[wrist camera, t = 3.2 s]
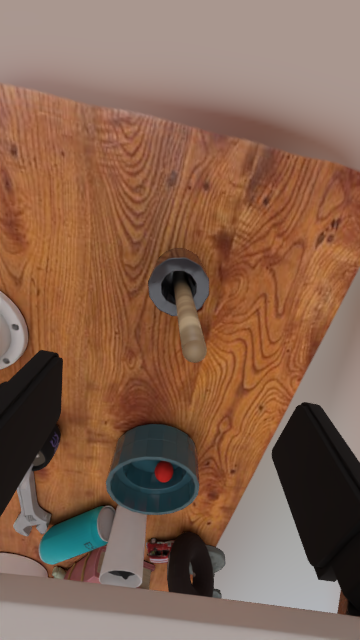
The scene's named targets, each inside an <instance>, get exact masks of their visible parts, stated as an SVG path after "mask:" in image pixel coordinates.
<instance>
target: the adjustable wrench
mask: <svg viewBox="0 0 360 640" xmlns="http://www.w3.org/2000/svg"><path fill="white" fill-rule="evenodd" d="M26 474H27V473H26ZM25 476H26V475H25ZM25 476H24V478H23V480H22V481H21V483H20V485H19V486H18V488H17V492H18V497H19V501H20V506H21V513H20V514H19V515H18V517H17V519H16V521H15V523H14V529H15V530H16V531H17V532H18V533H20V534H22V535H24V536H29V534H30V532H31V529H32V527H31V526H33V525H37V526H36V528H37V530H38V531H39V532H40V533H41V534H44V533H45V532H46V530H47V527H48V525H49V523H50V517H51V514H49V513H47V512H45V511H44V510H43V509H42V508H40V506H39V505H38V503H37V496H36V488H35V480H34V472H33V471H31V474H30V477H29V480H28V484H27V487H26V489H21V486H22V484H23V481H24V479H25Z"/></svg>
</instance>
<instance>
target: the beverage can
mask: <svg viewBox="0 0 360 640" xmlns="http://www.w3.org/2000/svg"><path fill="white" fill-rule="evenodd" d="M115 512H116V511H115V509H114V508H113V507H112V506H100V507H97V508H95V509H92V510H90V511H88V512H85V513H83V514H81V515H78V516H76V517H73V518H71V519H69V520H66V521H64V522H61V523H59V524H57V525H54V526H52V527H51V528H50V529H49V530H48V531H47V532H46V533H45V535H44V536H43V537H42V539H41V541H40V545H39V556H40V558H41V560H42V561H43V562H45V563H48V564H56V563H59V562H61V561H64V560H67V559H70V558H72V557H75V556H78V555H80V554H83V553H86V552H88V551H91V550H94V549H97V548H99V547H102V546H104V545H106V544H107V543H108V540H109V536H110V532H111V528H112V524H113V520H114V516H115Z"/></svg>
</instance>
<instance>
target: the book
mask: <svg viewBox="0 0 360 640" xmlns="http://www.w3.org/2000/svg"><path fill="white" fill-rule="evenodd" d="M106 548H107V546H102V547H99V548H97V549H95V550H93V551H92V552H91V551H89V553H88V555H87V556H85V557H84V558H83V559H81V560H80V561H79V562H78V563H74V564H73V566H72V567H71V568H70V569H68V571H67V573H66V575H65V577H64V579H65V580H73V581H81V582H90V583H98V584H101V583H100V581H99V575H100V571H101V567H102V563H103V559H104V556H105V552H106ZM154 570H155V566H154V565H152V564H149V563H147V562H144V561H143V575H142V583H141V585H140V586H139V587H136V588H140V589H148V590H149V583H150V574H151V572H152V571H154Z"/></svg>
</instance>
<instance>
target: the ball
mask: <svg viewBox="0 0 360 640" xmlns="http://www.w3.org/2000/svg"><path fill="white" fill-rule="evenodd" d="M155 476H156V478H157V479H158V480H159V481H160V482H168V481H169V480H170V479H171V478H172V476H173V466H172V464H171V463H170V462H166V461H160V462H159V463H158V464H157V465H156V468H155Z"/></svg>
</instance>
